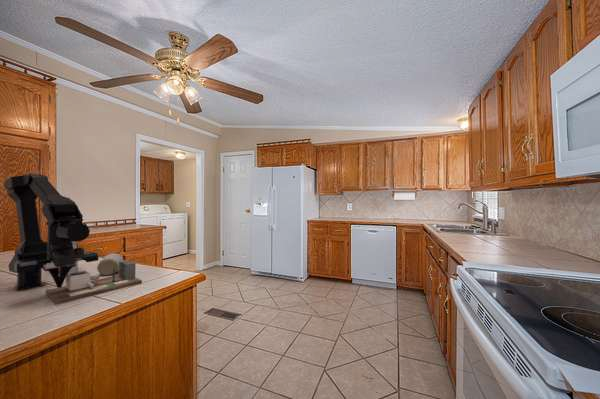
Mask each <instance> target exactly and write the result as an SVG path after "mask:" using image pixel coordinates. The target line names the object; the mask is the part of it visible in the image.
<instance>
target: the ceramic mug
mask: <svg viewBox="0 0 600 399" xmlns="http://www.w3.org/2000/svg"><path fill="white" fill-rule="evenodd" d="M119 261H125V260H124V258H123V256H122V255H121V254H119V253H114V252H113V253H110V254H107V255H105V256H104V257H103V258H102V259H101V260H100V261H99V262H98V264H97V267H96V268H97V271H98V273H99V274H101V275H102V276H112V275H113V269H115V273H117V272H118V273H119Z"/></svg>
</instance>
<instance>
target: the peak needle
mask: <svg viewBox="0 0 600 399" xmlns="http://www.w3.org/2000/svg"><path fill="white" fill-rule="evenodd" d="M115 273H116V272H115V269H113V274H112V276H113V280H112V282H113V283H115V276H116V274H115Z"/></svg>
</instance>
